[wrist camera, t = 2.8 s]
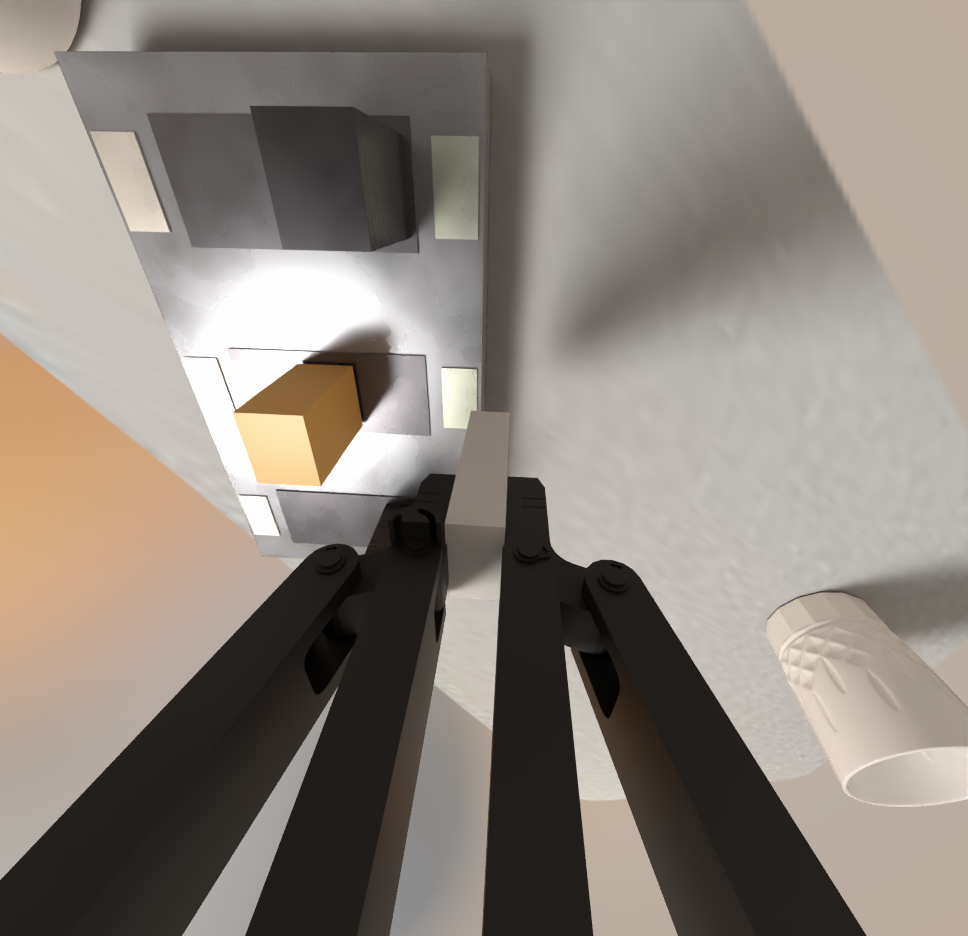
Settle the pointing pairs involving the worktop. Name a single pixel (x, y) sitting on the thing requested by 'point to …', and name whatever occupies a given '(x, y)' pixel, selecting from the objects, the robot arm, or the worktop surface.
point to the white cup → (872, 703)
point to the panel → (310, 250)
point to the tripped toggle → (300, 424)
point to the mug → (35, 33)
